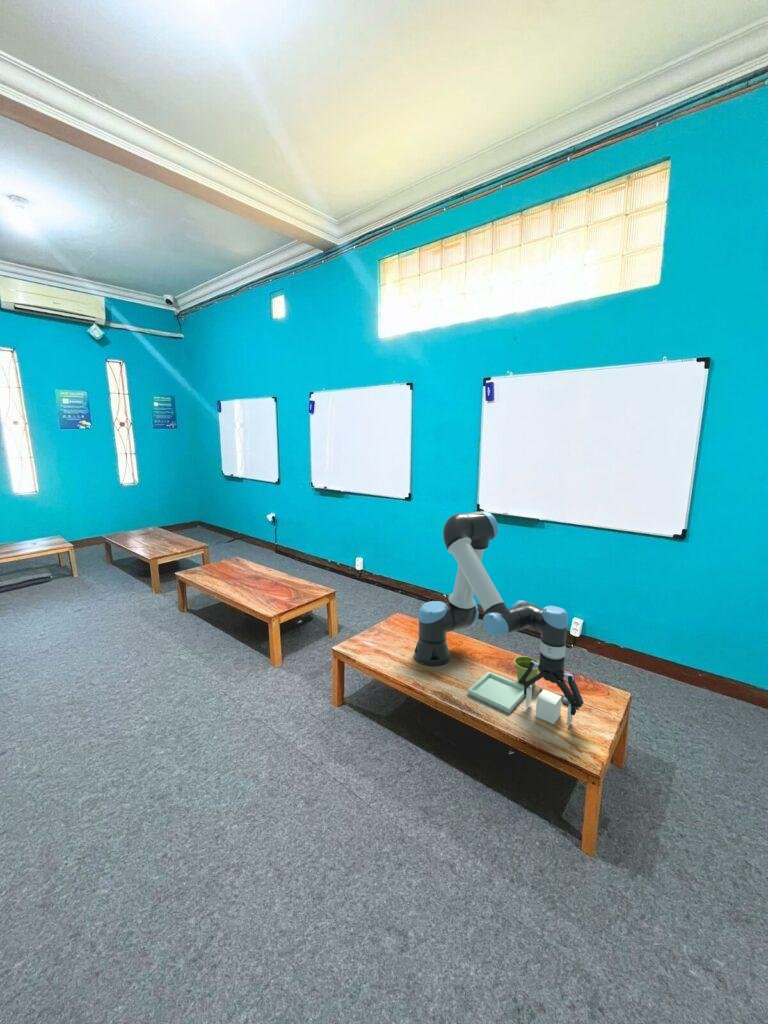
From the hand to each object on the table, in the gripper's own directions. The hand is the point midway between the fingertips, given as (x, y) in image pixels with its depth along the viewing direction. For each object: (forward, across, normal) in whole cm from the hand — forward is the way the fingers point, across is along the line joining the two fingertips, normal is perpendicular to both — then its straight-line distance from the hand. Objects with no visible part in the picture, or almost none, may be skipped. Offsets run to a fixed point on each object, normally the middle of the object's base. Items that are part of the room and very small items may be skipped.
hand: (548, 713), depth 134 cm
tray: (+1, -18, 0) cm, 18 cm away
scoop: (+1, -1, +12) cm, 12 cm away
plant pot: (+1, -13, +13) cm, 18 cm away
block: (+1, 0, 0) cm, 1 cm away
